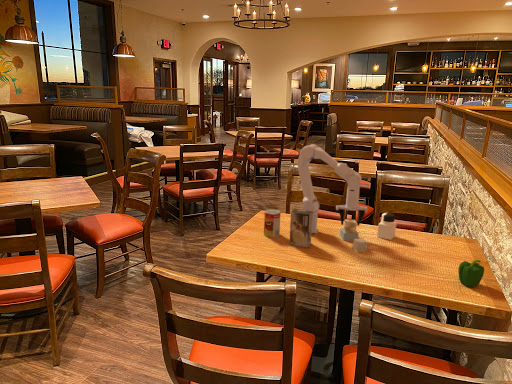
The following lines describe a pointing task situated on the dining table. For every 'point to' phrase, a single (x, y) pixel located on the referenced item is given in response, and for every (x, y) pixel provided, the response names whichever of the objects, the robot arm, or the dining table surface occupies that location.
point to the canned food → (272, 223)
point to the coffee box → (300, 227)
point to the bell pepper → (470, 273)
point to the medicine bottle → (387, 226)
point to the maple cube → (350, 226)
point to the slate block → (348, 235)
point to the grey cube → (360, 245)
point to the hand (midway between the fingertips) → (350, 224)
